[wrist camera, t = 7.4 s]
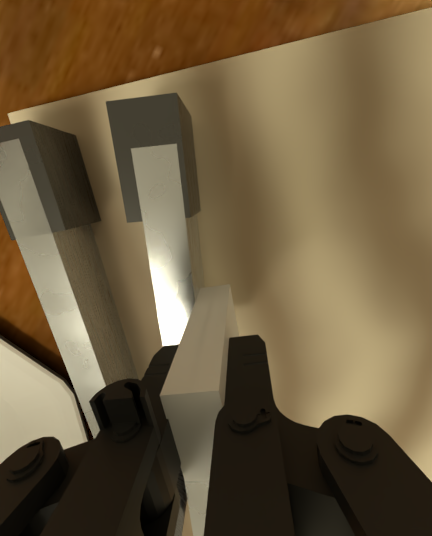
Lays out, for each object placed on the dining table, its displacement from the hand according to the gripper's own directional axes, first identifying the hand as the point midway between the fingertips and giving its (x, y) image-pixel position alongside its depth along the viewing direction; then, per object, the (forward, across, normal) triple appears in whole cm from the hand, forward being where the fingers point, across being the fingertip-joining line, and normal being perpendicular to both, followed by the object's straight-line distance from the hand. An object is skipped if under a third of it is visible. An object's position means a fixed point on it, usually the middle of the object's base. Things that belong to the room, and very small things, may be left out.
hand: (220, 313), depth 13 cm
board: (+3, +2, -8) cm, 8 cm away
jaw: (+1, -2, -5) cm, 6 cm away
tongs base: (+2, -5, -8) cm, 10 cm away
